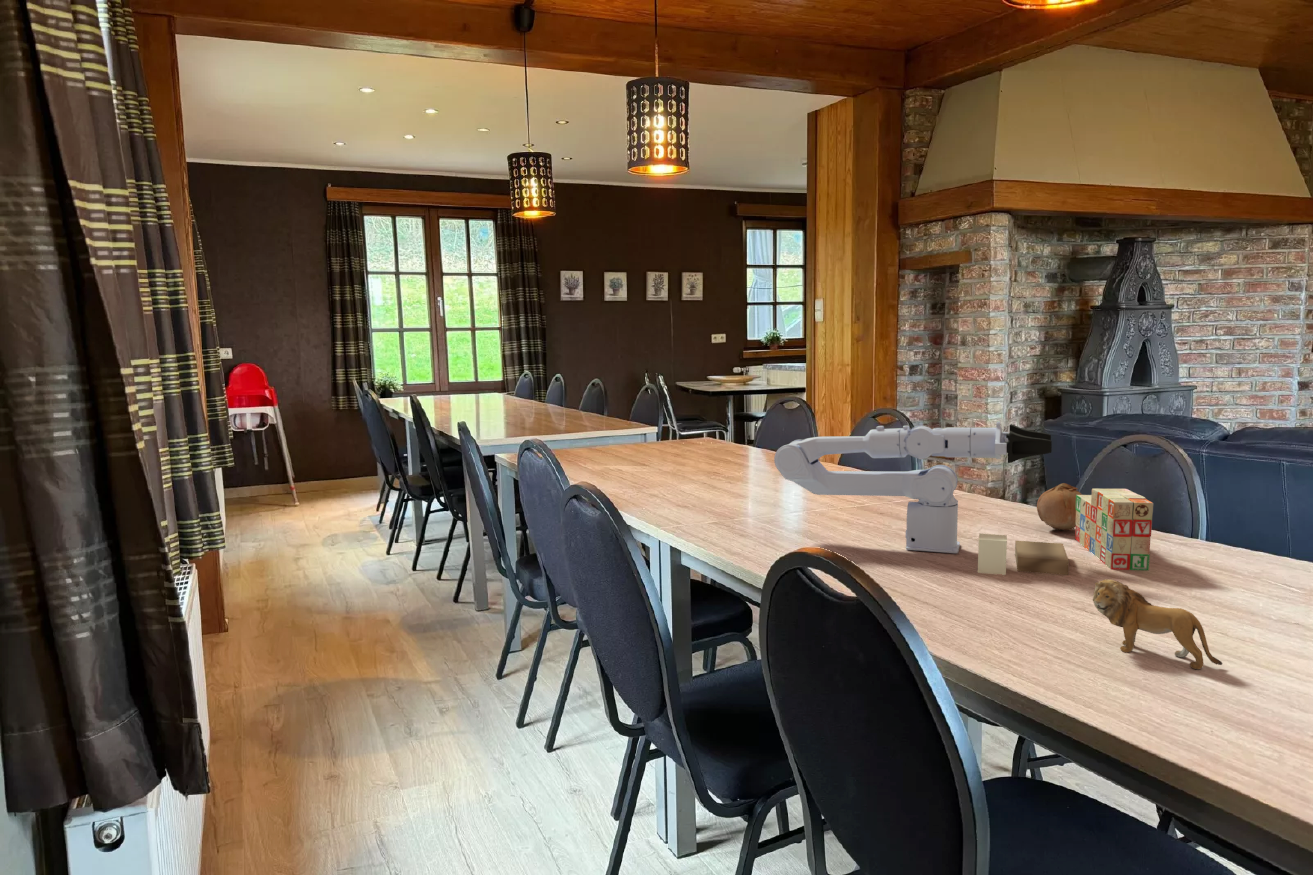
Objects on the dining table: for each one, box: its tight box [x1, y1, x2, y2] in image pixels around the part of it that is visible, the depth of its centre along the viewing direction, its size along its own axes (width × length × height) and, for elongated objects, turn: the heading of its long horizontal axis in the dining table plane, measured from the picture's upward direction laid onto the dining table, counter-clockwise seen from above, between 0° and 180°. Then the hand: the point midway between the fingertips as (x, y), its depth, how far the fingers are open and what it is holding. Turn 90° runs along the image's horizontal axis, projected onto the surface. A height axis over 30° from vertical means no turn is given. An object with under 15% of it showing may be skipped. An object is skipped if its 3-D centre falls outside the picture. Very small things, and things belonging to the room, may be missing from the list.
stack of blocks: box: [1074, 488, 1154, 571], centre depth 154 cm, size 21×6×12 cm, turn 169°
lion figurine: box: [1092, 579, 1223, 670], centre depth 107 cm, size 15×5×9 cm, turn 50°
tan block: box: [1014, 540, 1070, 576], centre depth 149 cm, size 8×12×3 cm, turn 159°
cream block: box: [977, 533, 1008, 576], centre depth 145 cm, size 4×4×6 cm
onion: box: [1036, 482, 1083, 532], centre depth 172 cm, size 10×9×10 cm
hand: (1051, 443), depth 151 cm, fingers open, 7 cm apart
